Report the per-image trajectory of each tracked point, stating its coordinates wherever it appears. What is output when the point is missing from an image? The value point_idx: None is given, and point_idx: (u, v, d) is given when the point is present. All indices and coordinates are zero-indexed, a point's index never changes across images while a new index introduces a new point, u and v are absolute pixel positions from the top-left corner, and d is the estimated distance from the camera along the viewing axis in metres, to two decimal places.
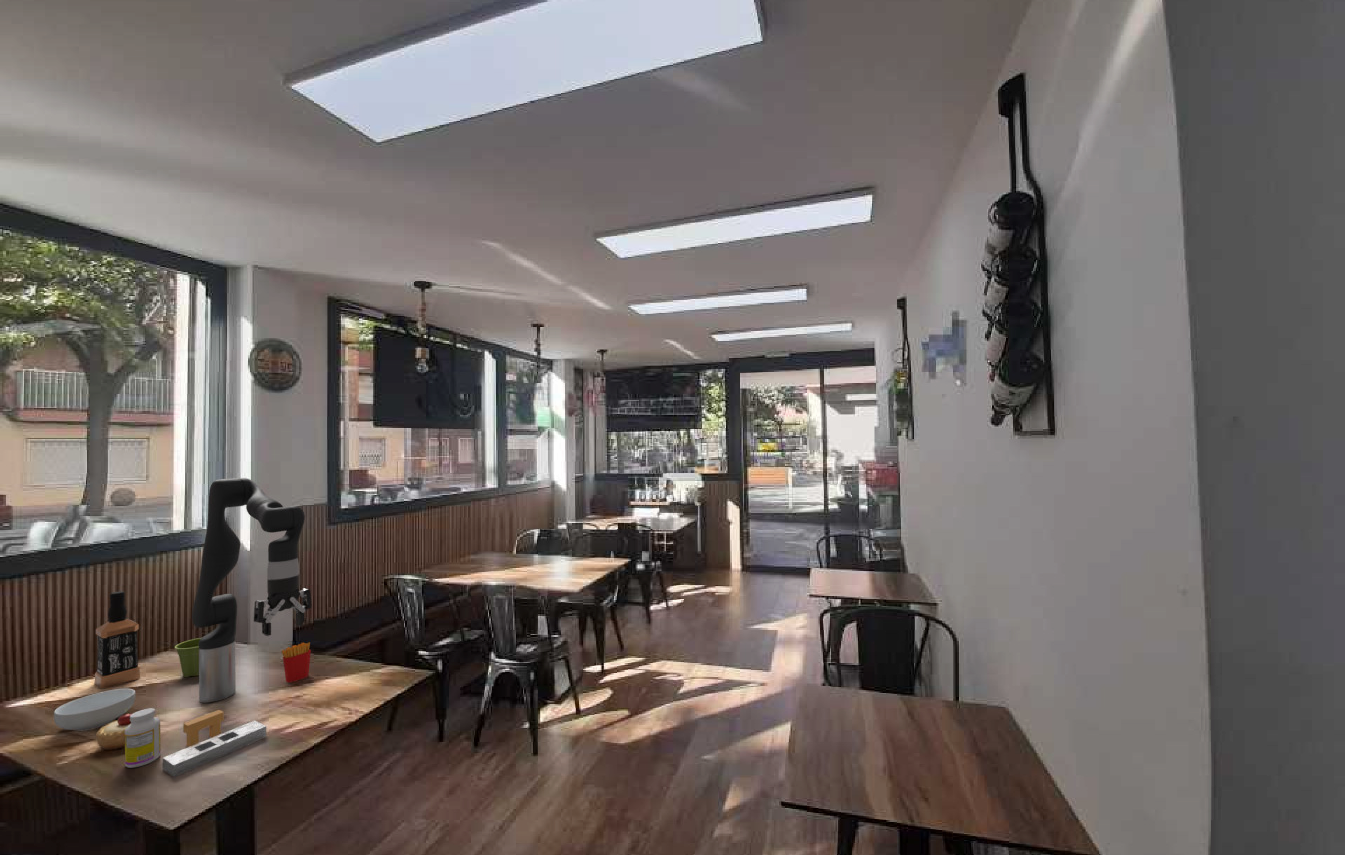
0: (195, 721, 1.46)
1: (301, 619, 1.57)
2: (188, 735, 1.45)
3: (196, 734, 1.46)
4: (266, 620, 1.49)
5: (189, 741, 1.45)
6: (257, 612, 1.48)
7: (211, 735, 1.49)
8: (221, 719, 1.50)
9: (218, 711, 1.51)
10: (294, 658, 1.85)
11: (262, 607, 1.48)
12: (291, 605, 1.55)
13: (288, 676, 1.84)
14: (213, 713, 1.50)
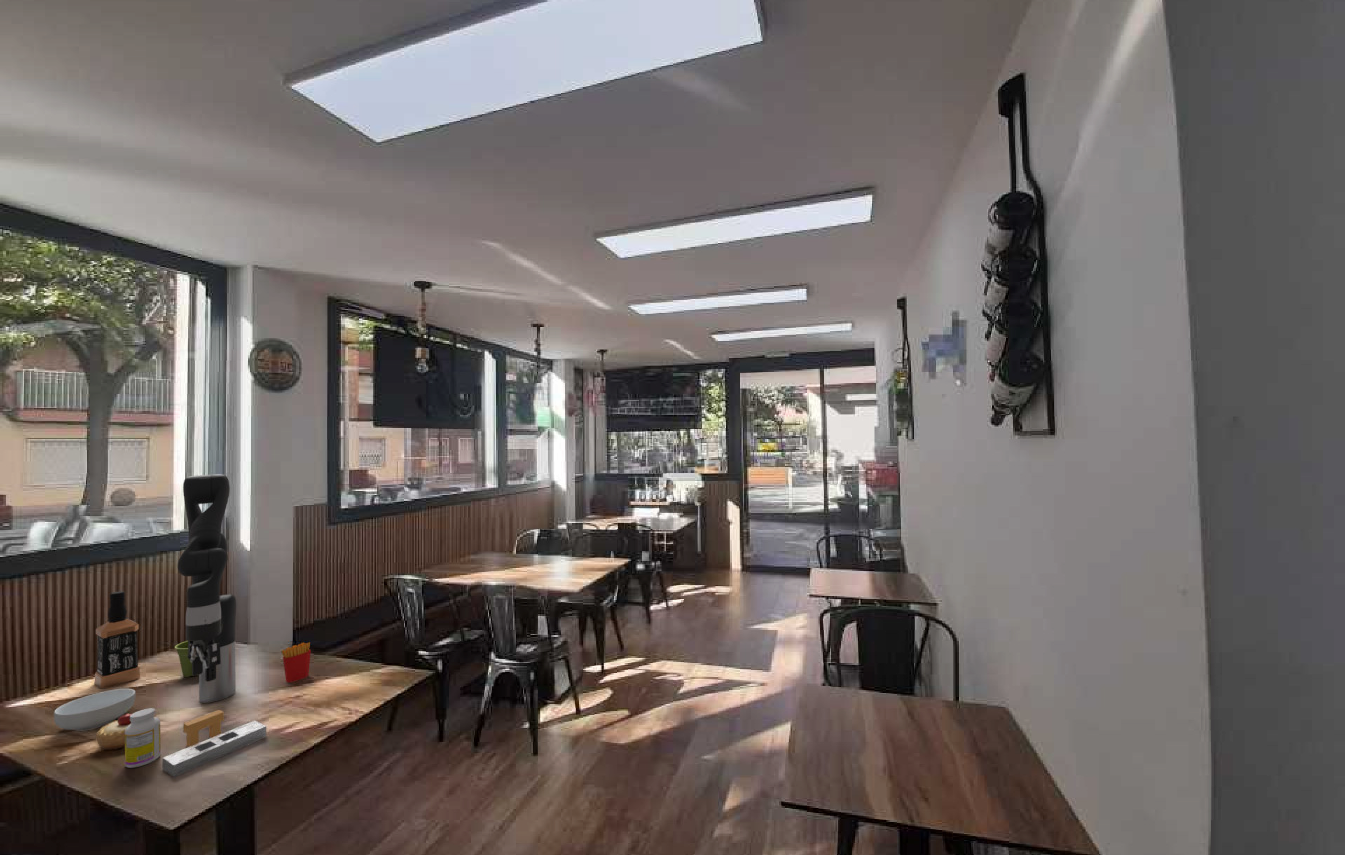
0: (195, 721, 1.46)
1: None
2: (188, 735, 1.45)
3: (196, 734, 1.46)
4: None
5: (189, 741, 1.45)
6: (217, 654, 1.46)
7: (211, 735, 1.49)
8: (221, 719, 1.50)
9: (218, 711, 1.51)
10: (294, 658, 1.85)
11: None
12: None
13: (288, 676, 1.84)
14: (213, 713, 1.50)
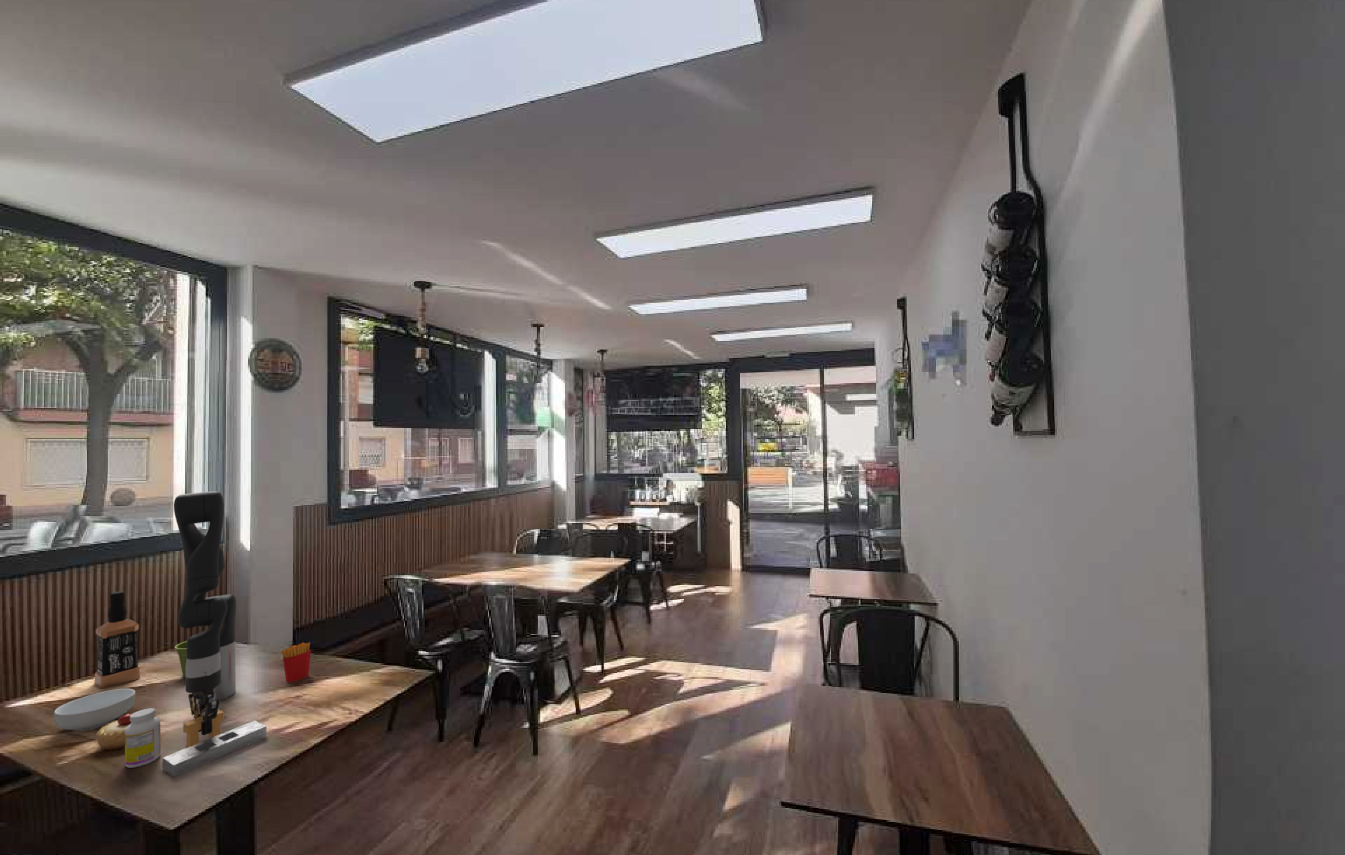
0: (195, 721, 1.46)
1: None
2: (188, 735, 1.45)
3: (196, 734, 1.46)
4: None
5: (189, 741, 1.45)
6: (214, 711, 1.46)
7: (211, 735, 1.49)
8: (221, 719, 1.50)
9: (218, 711, 1.51)
10: (294, 658, 1.85)
11: None
12: None
13: (288, 676, 1.84)
14: None
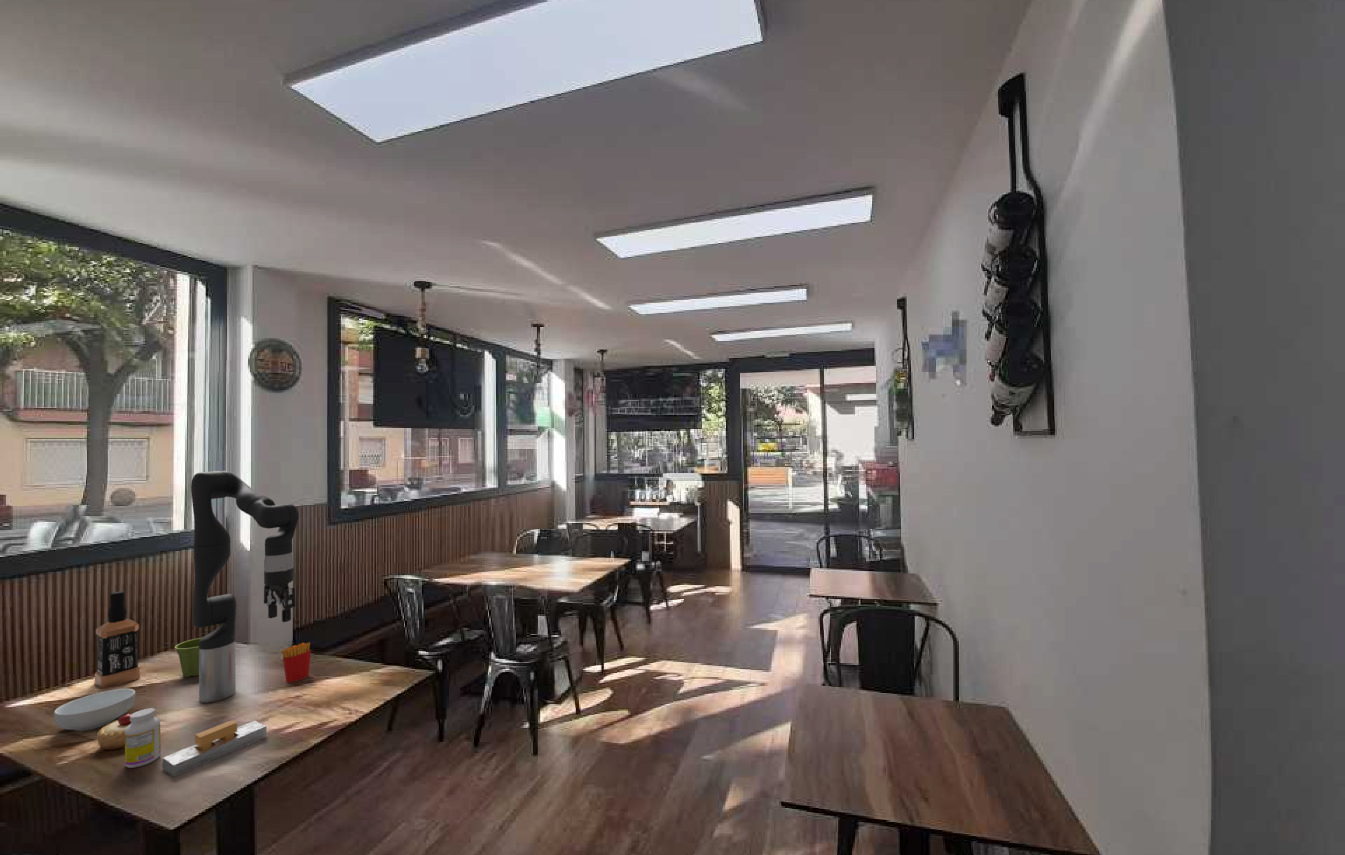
0: (208, 732, 1.40)
1: None
2: (200, 747, 1.39)
3: (209, 746, 1.39)
4: None
5: None
6: (292, 598, 1.63)
7: None
8: (234, 730, 1.44)
9: (231, 721, 1.45)
10: (294, 658, 1.85)
11: None
12: None
13: (288, 676, 1.84)
14: (226, 724, 1.44)
